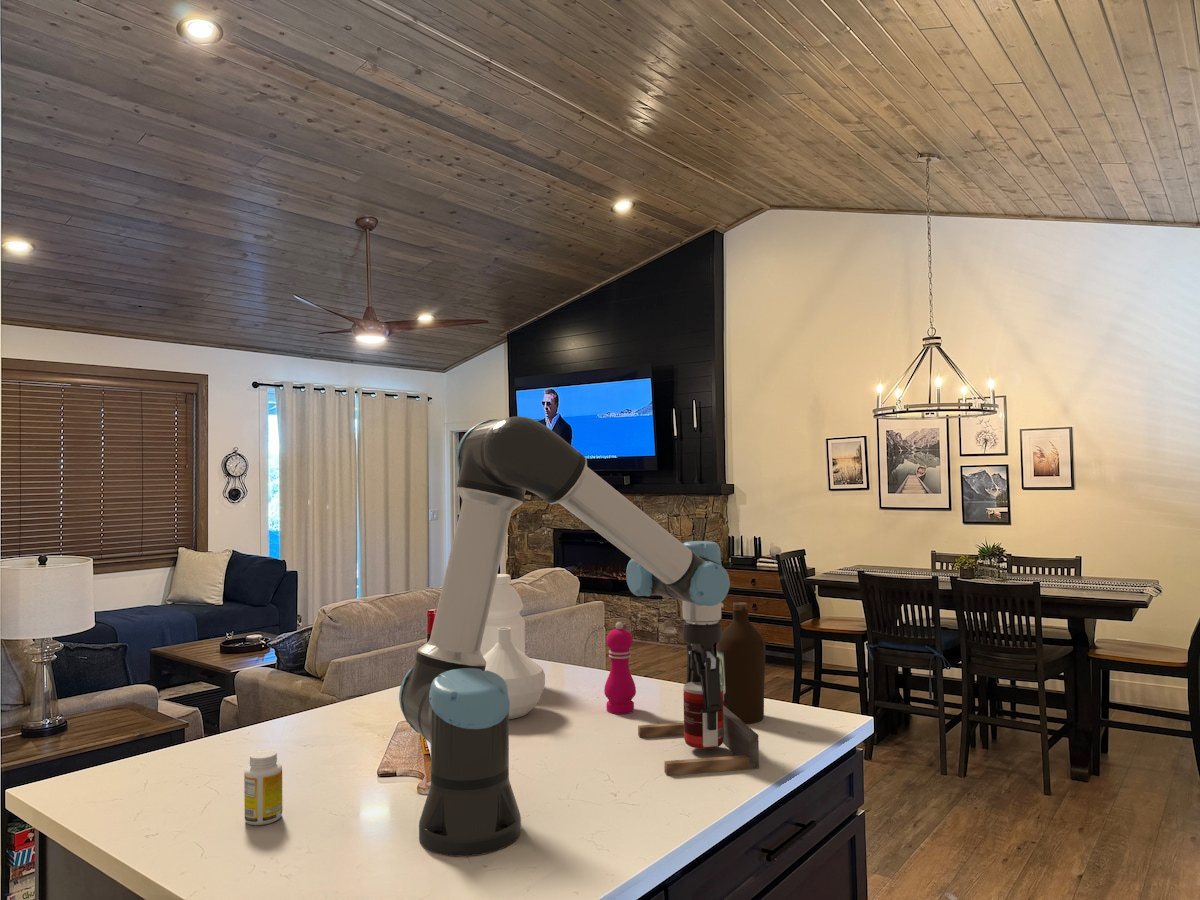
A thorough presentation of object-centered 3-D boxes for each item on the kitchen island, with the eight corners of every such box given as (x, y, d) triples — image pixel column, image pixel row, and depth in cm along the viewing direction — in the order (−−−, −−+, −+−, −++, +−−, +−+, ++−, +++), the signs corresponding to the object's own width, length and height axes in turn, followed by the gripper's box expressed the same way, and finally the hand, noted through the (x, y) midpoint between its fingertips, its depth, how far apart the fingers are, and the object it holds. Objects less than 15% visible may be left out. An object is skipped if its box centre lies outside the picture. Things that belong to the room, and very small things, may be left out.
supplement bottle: (286, 811, 134) (286, 747, 134) (276, 825, 128) (276, 759, 129) (250, 813, 133) (250, 748, 134) (239, 827, 128) (239, 760, 128)
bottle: (476, 694, 204) (475, 579, 205) (466, 680, 217) (465, 573, 218) (531, 688, 209) (530, 576, 209) (518, 676, 222) (518, 570, 223)
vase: (552, 703, 195) (552, 621, 196) (535, 727, 177) (534, 637, 177) (477, 701, 198) (476, 620, 198) (452, 724, 180) (452, 635, 180)
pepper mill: (600, 713, 187) (599, 624, 187) (609, 704, 193) (608, 618, 194) (631, 715, 184) (630, 625, 185) (639, 707, 191) (638, 619, 192)
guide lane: (666, 775, 148) (666, 741, 148) (638, 735, 171) (637, 705, 171) (758, 768, 151) (758, 734, 151) (718, 729, 174) (718, 701, 174)
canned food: (722, 736, 165) (722, 680, 165) (724, 750, 157) (724, 691, 157) (684, 735, 166) (683, 680, 166) (684, 749, 158) (683, 690, 158)
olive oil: (765, 711, 187) (763, 599, 188) (768, 725, 177) (766, 607, 177) (717, 709, 188) (715, 599, 189) (717, 724, 178) (716, 606, 179)
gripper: (738, 629, 152) (740, 755, 152) (704, 611, 173) (706, 722, 172) (699, 631, 151) (700, 758, 150) (669, 613, 171) (671, 724, 171)
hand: (703, 738), depth 161 cm, fingers closed on canned food, 8 cm apart
